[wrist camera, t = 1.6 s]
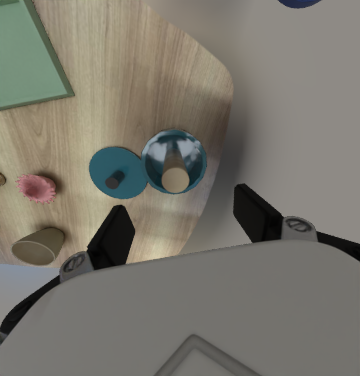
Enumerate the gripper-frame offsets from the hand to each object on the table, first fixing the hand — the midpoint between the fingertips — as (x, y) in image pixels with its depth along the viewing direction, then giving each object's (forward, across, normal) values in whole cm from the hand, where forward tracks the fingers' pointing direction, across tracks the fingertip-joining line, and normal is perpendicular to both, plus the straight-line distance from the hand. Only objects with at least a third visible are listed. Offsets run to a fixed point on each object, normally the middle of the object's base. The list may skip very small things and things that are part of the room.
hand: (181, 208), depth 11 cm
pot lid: (+22, +14, +3) cm, 27 cm away
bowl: (+23, +41, +18) cm, 51 cm away
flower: (+23, +32, +2) cm, 40 cm away
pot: (+23, 0, +1) cm, 23 cm away
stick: (+22, 0, +1) cm, 22 cm away
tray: (+23, +24, -20) cm, 39 cm away
